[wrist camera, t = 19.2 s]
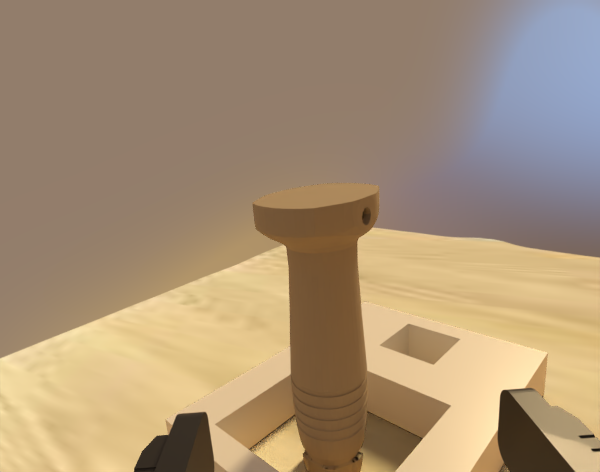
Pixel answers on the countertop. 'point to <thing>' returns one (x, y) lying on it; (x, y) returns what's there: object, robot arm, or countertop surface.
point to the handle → (325, 314)
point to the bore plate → (390, 394)
